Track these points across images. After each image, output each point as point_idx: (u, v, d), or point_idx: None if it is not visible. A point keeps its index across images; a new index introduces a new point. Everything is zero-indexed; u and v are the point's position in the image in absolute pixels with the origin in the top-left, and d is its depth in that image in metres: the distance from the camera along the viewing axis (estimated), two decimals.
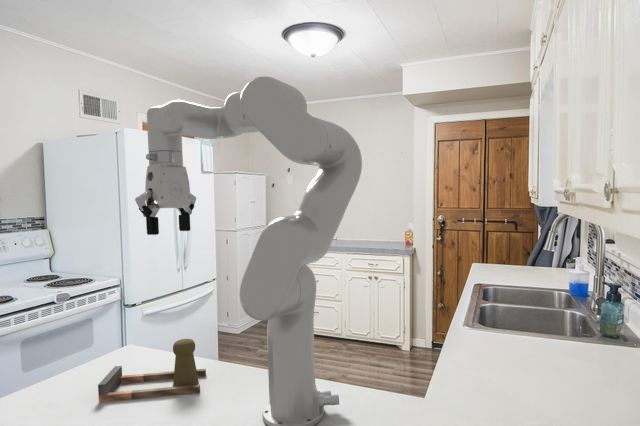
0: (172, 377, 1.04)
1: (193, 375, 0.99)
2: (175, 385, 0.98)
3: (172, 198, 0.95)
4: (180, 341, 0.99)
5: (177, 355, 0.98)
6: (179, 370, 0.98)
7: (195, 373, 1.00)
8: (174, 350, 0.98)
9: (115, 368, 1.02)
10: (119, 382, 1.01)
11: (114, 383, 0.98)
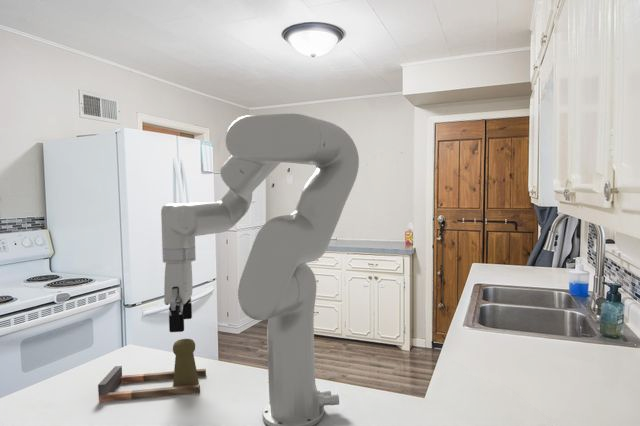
0: (172, 377, 1.04)
1: (193, 375, 0.99)
2: (175, 385, 0.98)
3: None
4: (180, 341, 0.99)
5: (177, 355, 0.98)
6: (179, 370, 0.98)
7: (195, 373, 1.00)
8: (174, 350, 0.98)
9: (115, 368, 1.02)
10: (119, 382, 1.01)
11: (114, 383, 0.98)
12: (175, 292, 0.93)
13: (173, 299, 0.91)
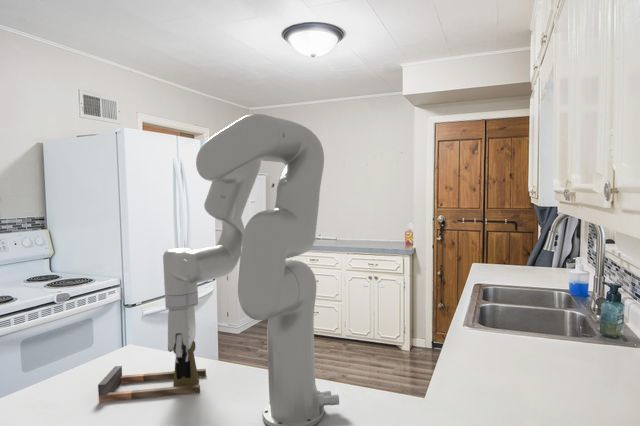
0: (172, 377, 1.04)
1: (193, 374, 0.99)
2: (175, 384, 0.98)
3: None
4: None
5: None
6: None
7: (195, 372, 1.00)
8: (174, 349, 0.98)
9: (115, 368, 1.02)
10: (119, 382, 1.01)
11: (114, 383, 0.98)
12: (180, 344, 0.94)
13: (179, 355, 0.93)
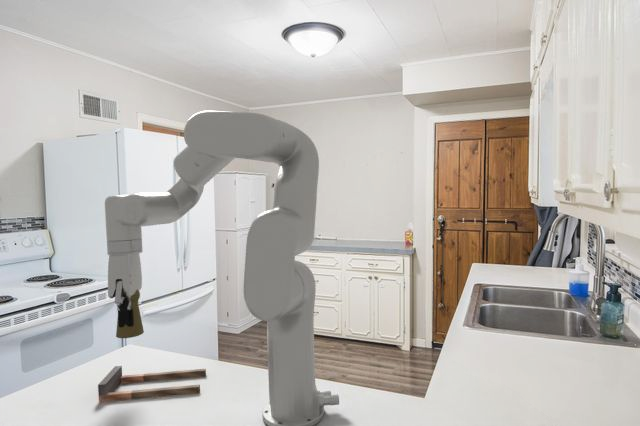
0: (172, 377, 1.04)
1: (137, 323, 0.97)
2: (118, 333, 0.96)
3: None
4: None
5: None
6: None
7: (139, 322, 0.98)
8: None
9: (115, 368, 1.02)
10: (119, 382, 1.01)
11: (114, 383, 0.98)
12: (120, 290, 0.92)
13: (118, 300, 0.91)
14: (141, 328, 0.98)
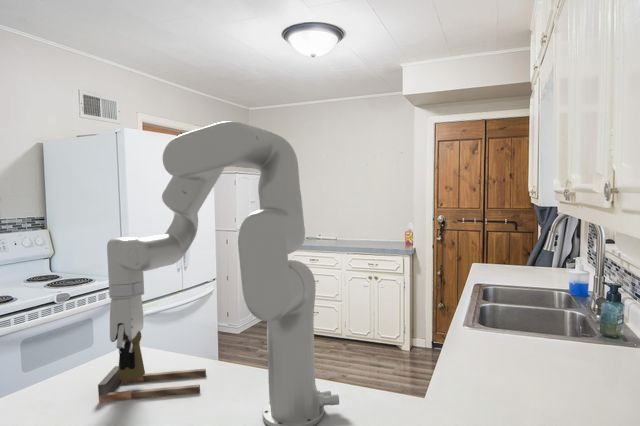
0: (172, 377, 1.04)
1: (138, 365, 0.98)
2: (119, 375, 0.97)
3: None
4: None
5: None
6: None
7: (140, 363, 0.98)
8: None
9: (115, 368, 1.02)
10: (119, 382, 1.01)
11: (114, 383, 0.98)
12: (121, 334, 0.93)
13: (120, 345, 0.92)
14: (142, 369, 0.99)
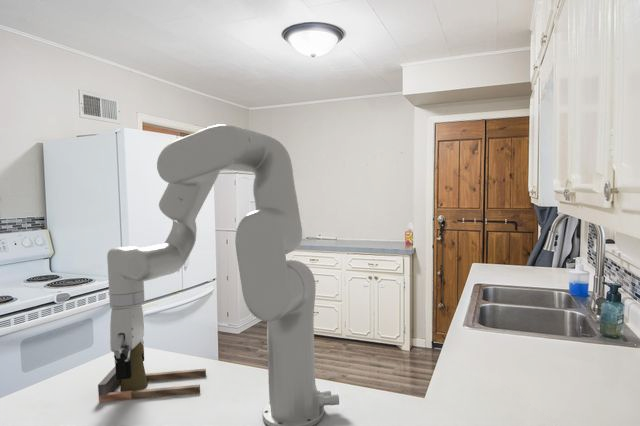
0: (172, 377, 1.04)
1: (141, 377, 0.98)
2: (122, 388, 0.97)
3: None
4: None
5: None
6: None
7: (143, 376, 0.99)
8: None
9: (115, 368, 1.02)
10: (119, 382, 1.01)
11: (114, 383, 0.98)
12: (120, 339, 0.92)
13: (117, 347, 0.90)
14: (145, 382, 1.00)
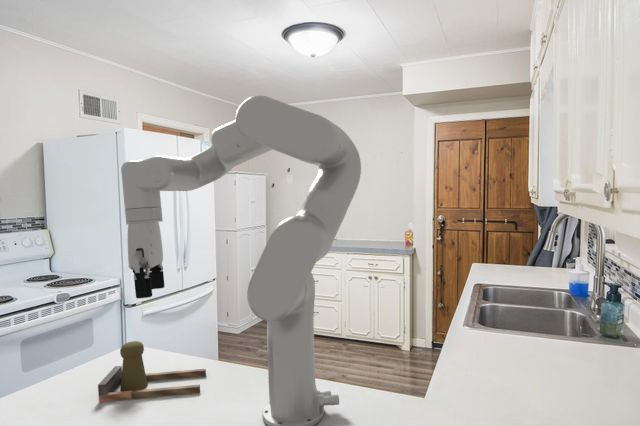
0: (172, 377, 1.04)
1: (141, 377, 0.98)
2: (122, 388, 0.97)
3: None
4: (128, 344, 0.99)
5: (124, 358, 0.97)
6: (126, 373, 0.97)
7: (143, 376, 0.99)
8: (121, 353, 0.97)
9: (115, 368, 1.02)
10: (119, 382, 1.01)
11: (114, 383, 0.98)
12: (139, 253, 0.86)
13: (136, 260, 0.84)
14: (145, 382, 1.00)
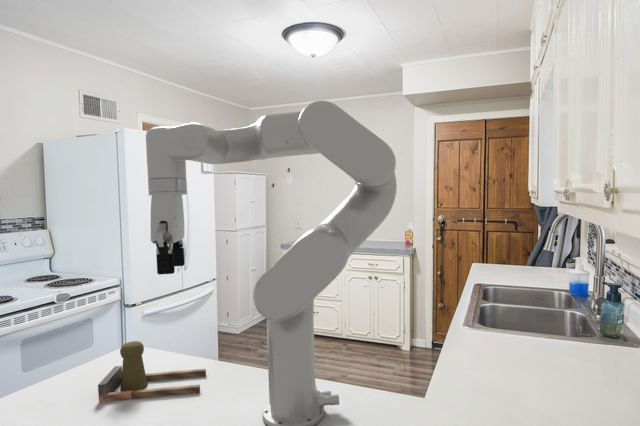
0: (172, 377, 1.04)
1: (141, 377, 0.98)
2: (122, 388, 0.97)
3: None
4: (128, 344, 0.99)
5: (124, 358, 0.97)
6: (126, 373, 0.97)
7: (143, 376, 0.99)
8: (121, 353, 0.97)
9: (115, 368, 1.02)
10: (119, 382, 1.01)
11: (114, 383, 0.98)
12: (163, 226, 0.80)
13: (160, 232, 0.78)
14: (145, 382, 1.00)
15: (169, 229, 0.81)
